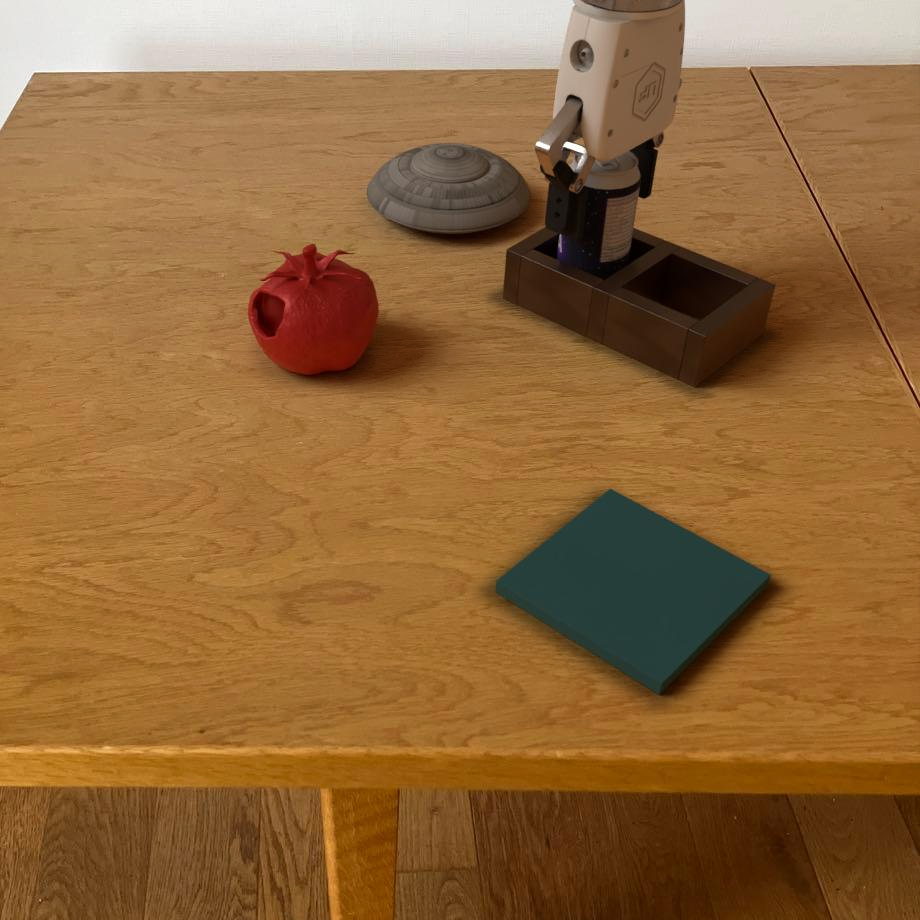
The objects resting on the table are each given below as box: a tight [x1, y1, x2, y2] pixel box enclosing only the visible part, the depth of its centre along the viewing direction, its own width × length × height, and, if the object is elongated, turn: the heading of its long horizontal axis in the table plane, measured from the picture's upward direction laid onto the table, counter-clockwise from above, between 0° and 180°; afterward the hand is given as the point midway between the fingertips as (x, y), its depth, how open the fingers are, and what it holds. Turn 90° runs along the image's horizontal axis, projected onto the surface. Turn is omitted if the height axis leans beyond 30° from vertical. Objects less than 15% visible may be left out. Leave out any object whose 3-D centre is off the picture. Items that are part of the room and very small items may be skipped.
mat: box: [494, 488, 772, 695], centre depth 74 cm, size 12×12×1 cm
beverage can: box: [557, 151, 641, 280], centre depth 95 cm, size 6×6×12 cm
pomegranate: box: [247, 243, 380, 376], centre depth 90 cm, size 10×10×9 cm
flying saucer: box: [366, 142, 532, 235], centre depth 109 cm, size 15×15×6 cm
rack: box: [502, 226, 776, 388], centre depth 95 cm, size 18×10×4 cm, turn 47°
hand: (598, 211), depth 94 cm, fingers open, 8 cm apart
